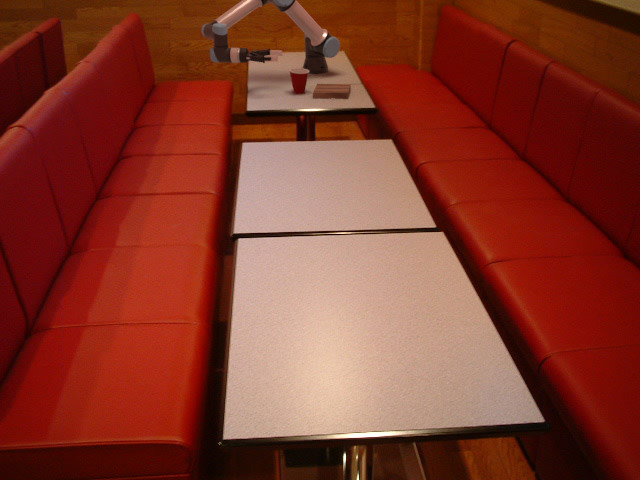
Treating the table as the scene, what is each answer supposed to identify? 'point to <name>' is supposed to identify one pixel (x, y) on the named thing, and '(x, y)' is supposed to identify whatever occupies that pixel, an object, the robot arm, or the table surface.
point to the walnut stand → (332, 91)
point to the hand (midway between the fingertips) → (280, 55)
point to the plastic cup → (299, 79)
